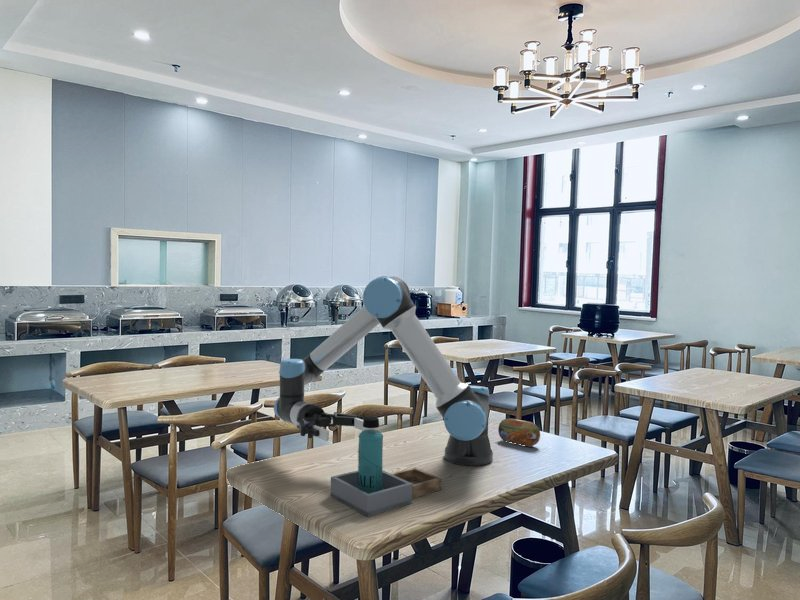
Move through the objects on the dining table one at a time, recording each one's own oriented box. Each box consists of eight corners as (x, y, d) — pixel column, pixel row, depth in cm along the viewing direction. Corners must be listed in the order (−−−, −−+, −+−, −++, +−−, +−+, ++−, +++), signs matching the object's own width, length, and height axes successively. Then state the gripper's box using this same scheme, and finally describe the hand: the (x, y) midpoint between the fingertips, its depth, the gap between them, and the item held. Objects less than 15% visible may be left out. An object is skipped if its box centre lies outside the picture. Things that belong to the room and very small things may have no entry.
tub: (373, 484, 159) (374, 466, 158) (412, 503, 146) (412, 483, 146) (330, 495, 150) (330, 476, 150) (367, 516, 137) (367, 496, 137)
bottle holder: (414, 477, 165) (414, 467, 165) (441, 489, 156) (441, 478, 156) (383, 486, 158) (384, 475, 158) (410, 498, 149) (410, 487, 149)
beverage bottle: (381, 490, 152) (382, 414, 151) (384, 500, 145) (385, 420, 144) (356, 491, 151) (357, 414, 150) (358, 501, 144) (359, 421, 143)
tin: (497, 440, 204) (498, 416, 204) (501, 438, 207) (502, 415, 206) (536, 449, 195) (537, 424, 194) (541, 447, 197) (541, 423, 197)
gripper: (342, 422, 181) (385, 437, 165) (269, 435, 165) (308, 453, 149) (343, 398, 181) (385, 411, 164) (269, 409, 165) (308, 424, 148)
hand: (349, 431), depth 156 cm, fingers open, 13 cm apart
